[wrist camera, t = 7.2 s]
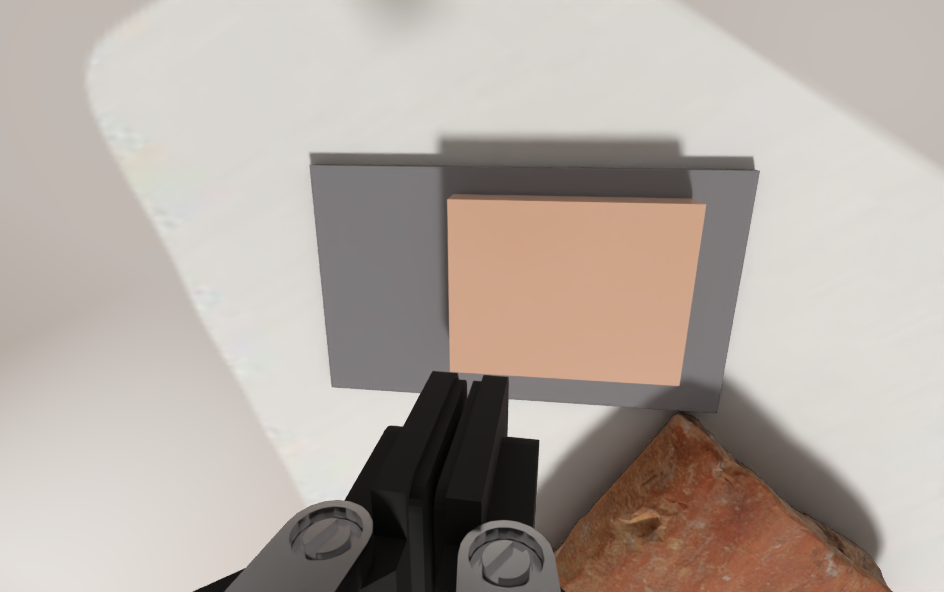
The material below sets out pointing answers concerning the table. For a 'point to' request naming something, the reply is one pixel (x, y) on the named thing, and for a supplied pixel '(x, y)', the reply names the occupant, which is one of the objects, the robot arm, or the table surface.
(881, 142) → the table surface
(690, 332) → the mat
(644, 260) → the tile
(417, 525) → the robot arm
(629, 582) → the ceramic shard
